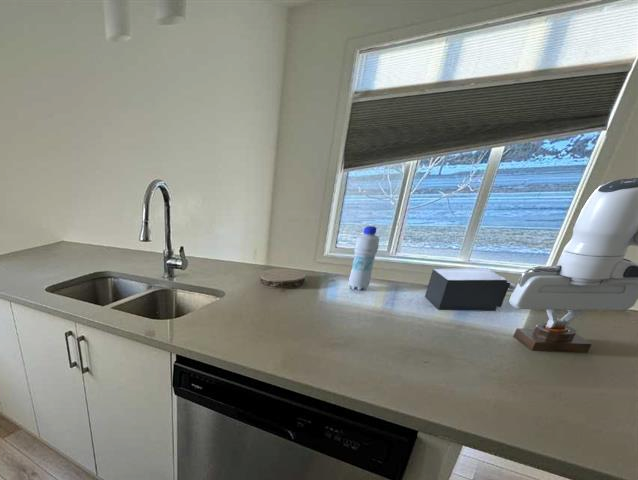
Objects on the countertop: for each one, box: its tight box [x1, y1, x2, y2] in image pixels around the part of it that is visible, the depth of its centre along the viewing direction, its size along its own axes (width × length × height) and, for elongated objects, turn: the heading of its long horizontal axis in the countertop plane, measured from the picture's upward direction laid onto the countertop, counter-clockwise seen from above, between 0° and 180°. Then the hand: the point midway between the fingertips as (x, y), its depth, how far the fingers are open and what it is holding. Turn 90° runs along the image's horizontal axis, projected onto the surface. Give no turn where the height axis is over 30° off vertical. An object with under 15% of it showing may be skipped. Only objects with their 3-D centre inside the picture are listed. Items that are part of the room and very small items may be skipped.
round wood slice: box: [258, 268, 307, 290], centre depth 148 cm, size 16×16×3 cm
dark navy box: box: [424, 268, 508, 311], centre depth 116 cm, size 14×12×9 cm
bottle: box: [347, 225, 380, 291], centre depth 131 cm, size 7×7×20 cm
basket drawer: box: [497, 280, 517, 308], centre depth 115 cm, size 17×10×7 cm, turn 74°
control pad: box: [513, 322, 592, 354], centre depth 92 cm, size 10×8×4 cm
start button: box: [545, 325, 568, 332], centre depth 91 cm, size 4×4×2 cm
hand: (556, 327), depth 91 cm, fingers closed, pressing on start button
